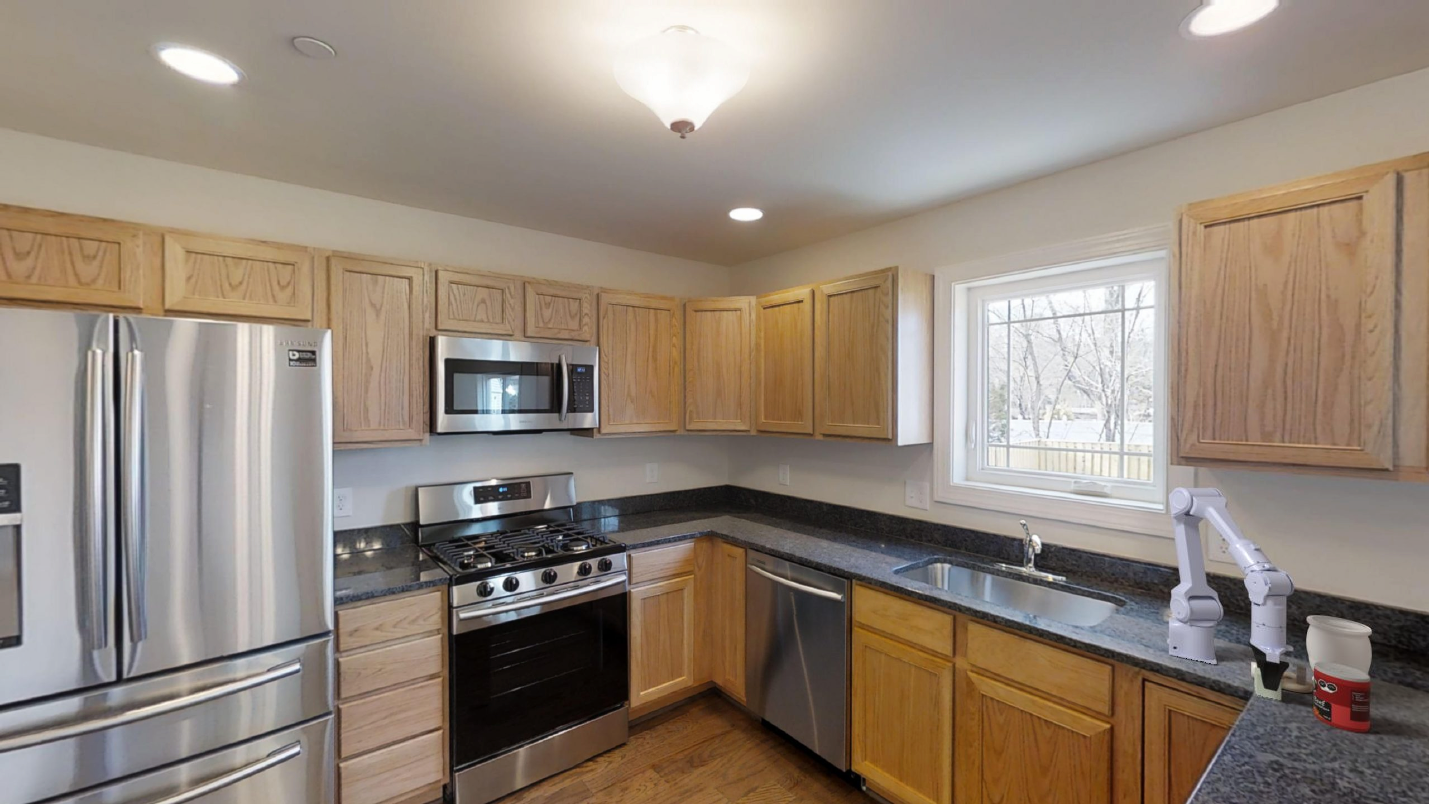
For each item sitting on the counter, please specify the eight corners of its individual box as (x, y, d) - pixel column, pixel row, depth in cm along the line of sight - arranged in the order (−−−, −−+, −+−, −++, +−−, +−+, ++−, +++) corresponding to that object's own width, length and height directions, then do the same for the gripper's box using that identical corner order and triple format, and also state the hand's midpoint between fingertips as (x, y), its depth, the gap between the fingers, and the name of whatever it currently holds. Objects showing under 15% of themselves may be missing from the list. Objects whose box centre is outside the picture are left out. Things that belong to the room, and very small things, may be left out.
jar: (1351, 700, 129) (1352, 633, 129) (1294, 679, 139) (1295, 616, 139) (1382, 694, 132) (1383, 629, 132) (1324, 673, 142) (1325, 612, 142)
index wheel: (1306, 696, 131) (1306, 671, 131) (1259, 681, 137) (1259, 657, 137) (1317, 687, 135) (1317, 663, 135) (1271, 673, 142) (1271, 650, 142)
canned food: (1310, 708, 126) (1311, 658, 126) (1364, 721, 121) (1365, 669, 121) (1316, 723, 120) (1317, 670, 120) (1374, 738, 115) (1374, 683, 115)
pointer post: (1251, 678, 139) (1251, 663, 139) (1250, 675, 141) (1250, 661, 141) (1261, 680, 138) (1262, 666, 138) (1260, 677, 140) (1260, 663, 140)
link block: (1256, 695, 131) (1256, 673, 131) (1254, 688, 134) (1254, 667, 134) (1281, 701, 129) (1281, 678, 129) (1278, 694, 132) (1278, 672, 132)
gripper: (1299, 637, 123) (1298, 701, 123) (1287, 618, 135) (1286, 676, 135) (1254, 629, 128) (1253, 691, 128) (1246, 611, 139) (1245, 667, 139)
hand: (1267, 683), depth 132 cm, fingers open, 7 cm apart
